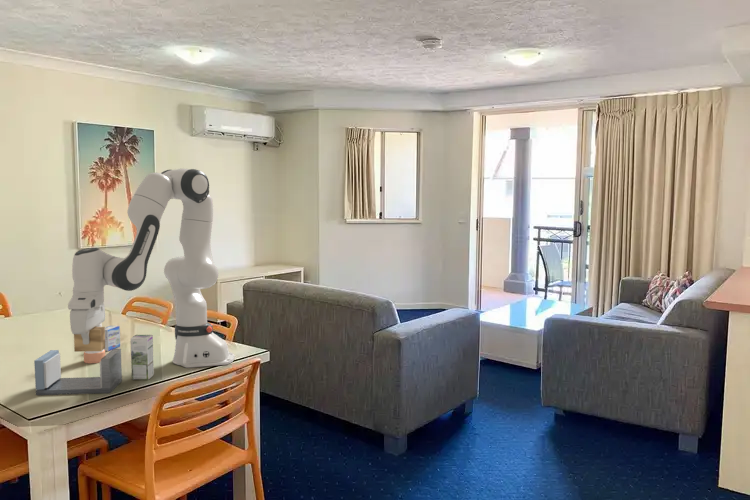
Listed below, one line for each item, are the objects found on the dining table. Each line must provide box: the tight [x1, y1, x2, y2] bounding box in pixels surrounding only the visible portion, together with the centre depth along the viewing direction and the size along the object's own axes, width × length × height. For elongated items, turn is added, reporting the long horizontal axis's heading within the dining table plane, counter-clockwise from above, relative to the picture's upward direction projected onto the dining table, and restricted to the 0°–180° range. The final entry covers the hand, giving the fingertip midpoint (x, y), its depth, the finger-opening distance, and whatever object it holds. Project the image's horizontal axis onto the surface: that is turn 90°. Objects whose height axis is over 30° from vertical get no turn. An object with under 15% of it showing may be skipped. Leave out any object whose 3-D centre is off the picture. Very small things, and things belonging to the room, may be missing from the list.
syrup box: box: [130, 334, 155, 381], centre depth 198 cm, size 6×6×14 cm
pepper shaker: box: [83, 322, 106, 364], centre depth 216 cm, size 7×7×19 cm
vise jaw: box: [33, 349, 62, 391], centre depth 186 cm, size 3×12×9 cm, turn 7°
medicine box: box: [104, 325, 121, 352], centre depth 234 cm, size 8×4×9 cm, turn 168°
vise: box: [35, 348, 123, 396], centre depth 187 cm, size 22×12×11 cm, turn 97°
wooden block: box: [73, 326, 105, 353], centre depth 186 cm, size 4×8×7 cm, turn 97°
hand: (89, 341), depth 186 cm, fingers closed on wooden block, 4 cm apart
